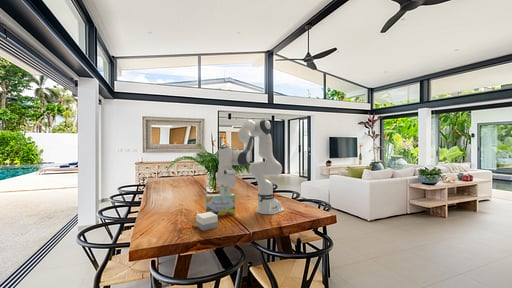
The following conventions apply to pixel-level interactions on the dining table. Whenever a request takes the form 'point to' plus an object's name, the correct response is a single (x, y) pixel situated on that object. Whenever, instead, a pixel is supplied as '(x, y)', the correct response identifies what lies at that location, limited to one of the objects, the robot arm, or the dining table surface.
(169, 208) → the dining table surface
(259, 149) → the robot arm
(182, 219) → the dining table surface
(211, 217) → the cream slab
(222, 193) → the sage block
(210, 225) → the grey slab
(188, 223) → the dining table surface
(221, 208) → the snack box
